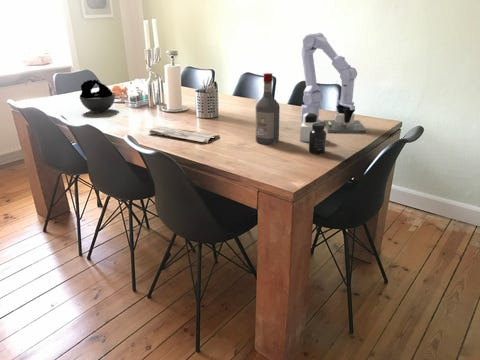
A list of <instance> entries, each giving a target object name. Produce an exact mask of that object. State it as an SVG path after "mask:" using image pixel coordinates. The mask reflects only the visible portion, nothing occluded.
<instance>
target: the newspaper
mask: <svg viewBox="0 0 480 360" xmlns="http://www.w3.org/2000/svg"><path fill="white" fill-rule="evenodd" d="M146 129H147V130H148V128H146ZM148 131H149V132H148V133H149V134H150V133H151V135H155V134H157V136H162V135H164V136H163V137H168V136H169V138H174V137H175V139H181V140H187V141H194V142H199V143H205V144H209V143H208V142H209V140H211V139H210V138H212V137H214V138H216V139H219V138H220V137H221V136H220V135H219V134H214V133H208V132H201V131H200V132H199V131H194V130H187V129H180V128H173V127H167V126H161V125H158V126H154V127H152V128H149V130H148Z"/></svg>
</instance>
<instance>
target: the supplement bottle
mask: <svg viewBox="0 0 480 360" xmlns="http://www.w3.org/2000/svg"><path fill="white" fill-rule="evenodd" d="M312 129H313V130H311V131H310V135H309V142H308V152H309V153H310V154H312V155H322V154H325V153H326V147H327V146H326V145H327V130H325V125H324V122H320V123H313V125H312Z"/></svg>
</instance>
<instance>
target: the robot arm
mask: <svg viewBox="0 0 480 360" xmlns="http://www.w3.org/2000/svg"><path fill="white" fill-rule="evenodd" d="M317 49H319V50H322V51H323V53H324V54H325V55H326V56H327V57H328V58H329V59H330V60H331V65H332V66H333V68H334V69H335V70H336V71H337V72H338V74H339V78H340V80H341V87H340V88H341V89H340V90H341V91H340V98H339V99H337V101H336V102H337V105H336V109H337V111H338V112H337V113H344V121H345V123H349V121H350V119H351V116H352V114H355V113H354V112H355V111H356V105H355V102H353V98H354V89H355V79H357V76H358V71H357V69H356V68H355V67H352V66H351V64H349V63H348V62H347V61H346V60H345V59H346V57H345V56H342V55H338V54H337V53H336V51H335V49H334V48H333V46H331V44H330V43H329V41H328V39H327V37H326V36H325V35H324V34H323V33H322V32H316V33H307V34H306V35H304V37H303V39H302V48H301V58H302V66H303V73H304V80H305V86H306V87H305V88H304V90H303V97H302V102H303V103H304V104H301V108H300V109H301V110H300V123H301V124H303V115H304V114H306V113H314V114H316V115H317V123H321V122H320V118H319V116H320V104H321V102H323V101H322V100H323V98H324V96H323V93H322V92H321V87H320V86H318V84H317V76H316V69H315V60H314V54H315V52H316V51H317Z"/></svg>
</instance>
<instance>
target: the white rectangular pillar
mask: <svg viewBox="0 0 480 360" xmlns="http://www.w3.org/2000/svg"><path fill="white" fill-rule="evenodd" d="M334 120H335V123H342V125H347V123H345V121H344V113H339V112H337V113H335V115H334ZM354 120H355V113H353V114H352V116H351V119H350V121H349V123H354Z"/></svg>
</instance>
